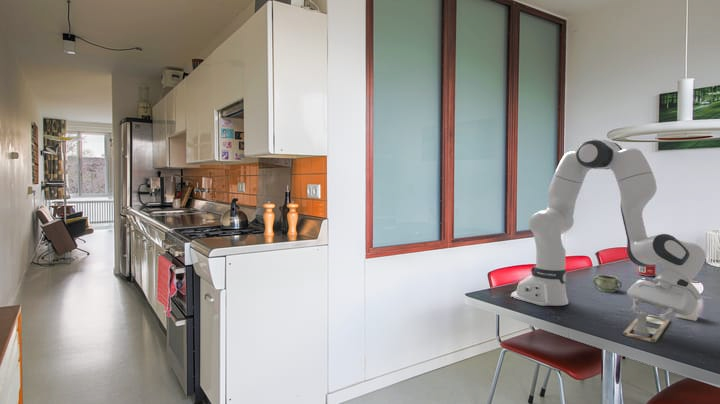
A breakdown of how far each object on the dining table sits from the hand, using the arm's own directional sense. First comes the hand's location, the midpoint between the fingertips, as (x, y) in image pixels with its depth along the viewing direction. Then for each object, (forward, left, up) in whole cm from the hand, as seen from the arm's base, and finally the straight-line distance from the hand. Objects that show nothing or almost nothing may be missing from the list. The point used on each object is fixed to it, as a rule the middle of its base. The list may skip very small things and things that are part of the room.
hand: (647, 315), depth 136 cm
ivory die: (+7, +32, -6) cm, 33 cm away
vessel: (-25, +54, -7) cm, 60 cm away
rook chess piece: (-1, -2, -7) cm, 7 cm away
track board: (-1, +8, -6) cm, 10 cm away
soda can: (-18, +102, -7) cm, 104 cm away
